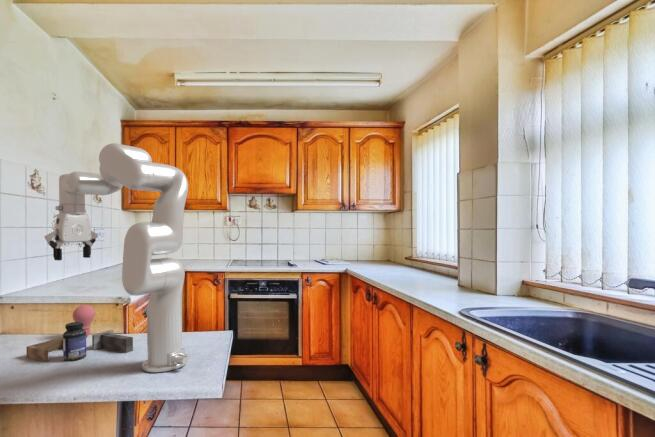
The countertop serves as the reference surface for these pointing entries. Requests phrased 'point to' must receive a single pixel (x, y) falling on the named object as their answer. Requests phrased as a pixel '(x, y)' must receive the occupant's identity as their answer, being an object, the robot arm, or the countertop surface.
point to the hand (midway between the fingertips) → (72, 258)
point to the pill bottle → (74, 342)
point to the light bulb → (84, 316)
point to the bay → (44, 349)
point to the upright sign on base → (112, 342)
